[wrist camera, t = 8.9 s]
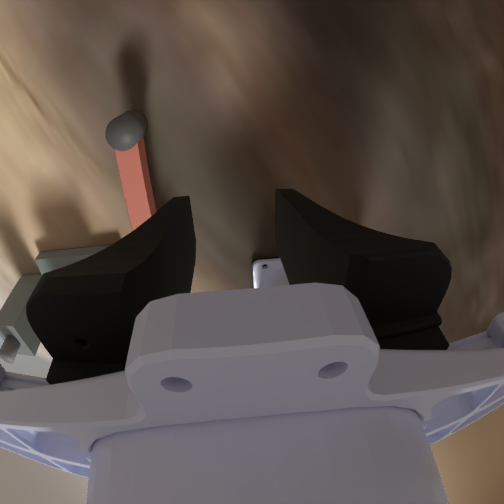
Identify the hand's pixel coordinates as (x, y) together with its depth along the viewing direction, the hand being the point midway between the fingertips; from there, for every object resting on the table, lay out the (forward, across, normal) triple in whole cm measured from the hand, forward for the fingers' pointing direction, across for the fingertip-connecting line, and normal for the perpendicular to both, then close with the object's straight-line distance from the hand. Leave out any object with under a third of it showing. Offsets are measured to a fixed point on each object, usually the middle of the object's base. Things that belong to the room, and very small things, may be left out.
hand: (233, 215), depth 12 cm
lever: (+8, +6, +3) cm, 10 cm away
